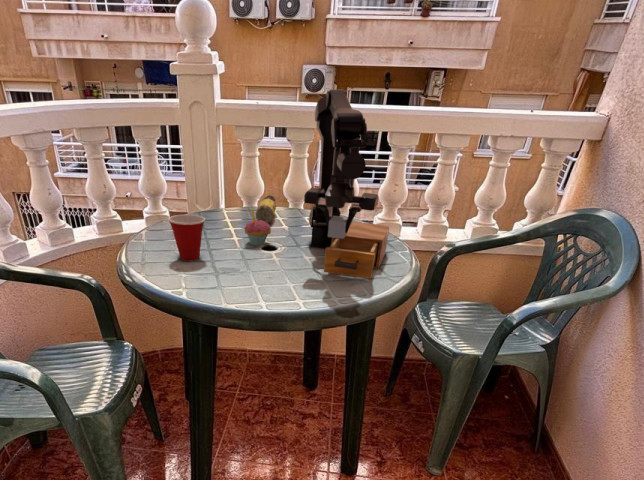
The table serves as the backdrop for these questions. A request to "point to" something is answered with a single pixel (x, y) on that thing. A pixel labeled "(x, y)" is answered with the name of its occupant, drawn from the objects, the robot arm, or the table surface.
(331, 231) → the block
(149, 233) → the table surface
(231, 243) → the table surface
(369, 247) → the wooden drawer
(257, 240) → the cupcake
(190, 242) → the plastic cup
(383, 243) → the cabinet
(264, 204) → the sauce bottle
